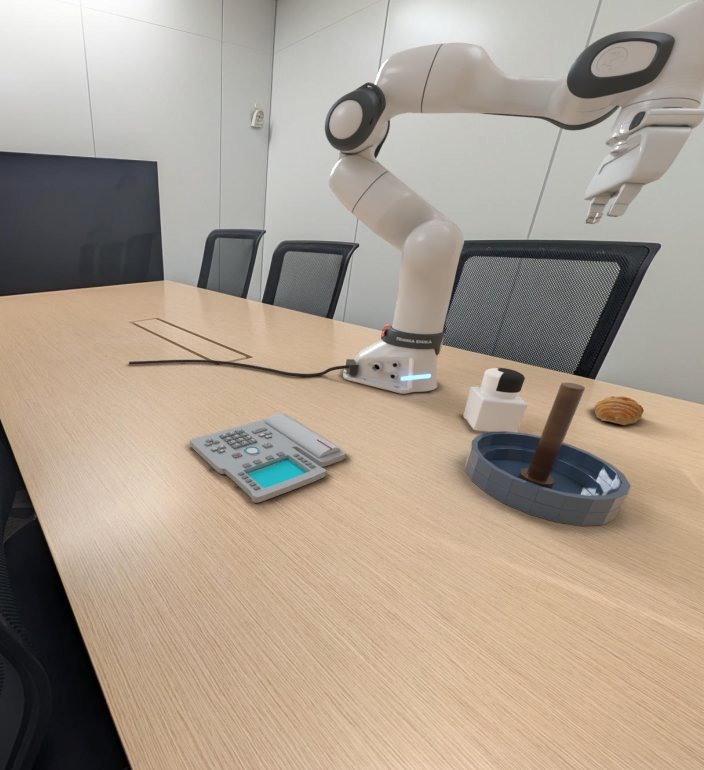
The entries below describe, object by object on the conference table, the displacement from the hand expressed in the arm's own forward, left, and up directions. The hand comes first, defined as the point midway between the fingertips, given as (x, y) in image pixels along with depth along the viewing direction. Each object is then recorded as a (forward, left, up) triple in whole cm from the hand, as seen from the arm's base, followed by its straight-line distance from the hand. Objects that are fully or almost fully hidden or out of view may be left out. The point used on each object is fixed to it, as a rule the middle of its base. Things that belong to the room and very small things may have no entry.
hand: (601, 220), depth 67 cm
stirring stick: (-3, -33, -38) cm, 50 cm away
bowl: (-3, -33, -38) cm, 51 cm away
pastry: (+14, +5, -38) cm, 41 cm away
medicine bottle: (-8, -13, -38) cm, 41 cm away
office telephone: (-41, -46, -38) cm, 73 cm away
